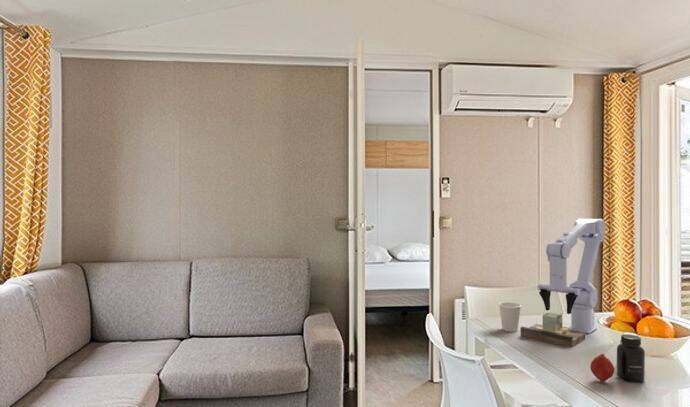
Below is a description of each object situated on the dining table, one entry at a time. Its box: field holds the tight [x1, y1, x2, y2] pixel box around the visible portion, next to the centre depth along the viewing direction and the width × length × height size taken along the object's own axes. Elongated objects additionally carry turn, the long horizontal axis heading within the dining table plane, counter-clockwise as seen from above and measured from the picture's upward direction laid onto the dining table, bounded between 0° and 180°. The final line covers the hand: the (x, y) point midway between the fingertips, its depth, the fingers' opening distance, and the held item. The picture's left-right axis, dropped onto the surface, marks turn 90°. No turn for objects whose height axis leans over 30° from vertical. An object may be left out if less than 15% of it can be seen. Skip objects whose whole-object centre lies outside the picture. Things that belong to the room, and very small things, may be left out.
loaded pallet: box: [535, 311, 571, 335], centre depth 170 cm, size 9×9×6 cm
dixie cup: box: [498, 301, 522, 333], centre depth 181 cm, size 8×8×10 cm
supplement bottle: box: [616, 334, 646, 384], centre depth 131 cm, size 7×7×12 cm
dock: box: [519, 323, 586, 348], centre depth 170 cm, size 14×18×4 cm
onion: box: [590, 353, 615, 383], centre depth 129 cm, size 6×6×8 cm
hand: (558, 311), depth 170 cm, fingers open, 7 cm apart
